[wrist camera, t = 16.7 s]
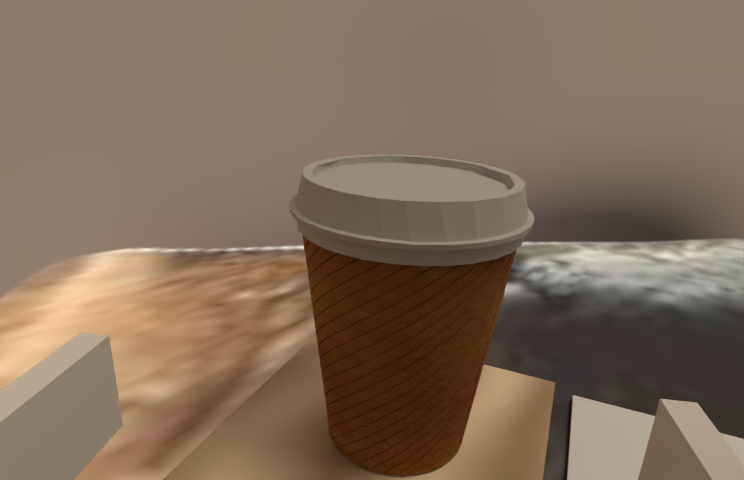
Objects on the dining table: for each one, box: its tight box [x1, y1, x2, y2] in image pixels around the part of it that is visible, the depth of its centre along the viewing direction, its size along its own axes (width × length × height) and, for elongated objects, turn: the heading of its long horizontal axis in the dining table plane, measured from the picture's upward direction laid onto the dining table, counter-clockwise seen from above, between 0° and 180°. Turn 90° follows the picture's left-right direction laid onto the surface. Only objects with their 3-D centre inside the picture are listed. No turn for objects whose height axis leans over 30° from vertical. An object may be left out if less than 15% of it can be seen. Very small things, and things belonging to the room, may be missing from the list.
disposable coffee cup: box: [290, 155, 534, 476], centre depth 22 cm, size 10×10×12 cm
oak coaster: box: [163, 336, 555, 480], centre depth 24 cm, size 14×14×1 cm
